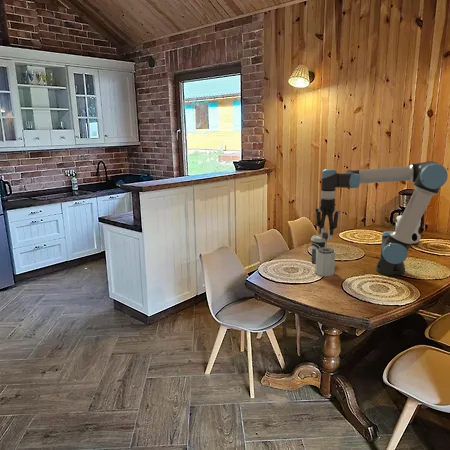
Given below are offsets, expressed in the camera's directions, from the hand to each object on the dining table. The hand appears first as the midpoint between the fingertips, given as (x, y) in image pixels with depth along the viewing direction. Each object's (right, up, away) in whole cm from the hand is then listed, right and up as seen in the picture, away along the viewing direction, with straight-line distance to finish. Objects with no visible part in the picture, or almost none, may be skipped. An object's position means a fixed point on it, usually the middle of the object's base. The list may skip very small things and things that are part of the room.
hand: (326, 239), depth 213 cm
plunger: (0, -14, +3) cm, 14 cm away
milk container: (+71, -4, +57) cm, 91 cm away
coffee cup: (+2, -14, +26) cm, 30 cm away
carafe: (-1, -19, +6) cm, 20 cm away
